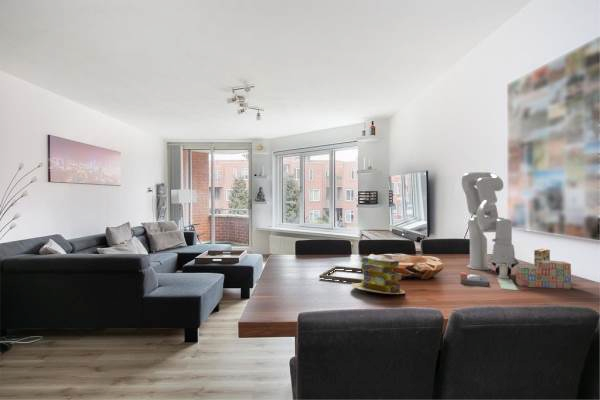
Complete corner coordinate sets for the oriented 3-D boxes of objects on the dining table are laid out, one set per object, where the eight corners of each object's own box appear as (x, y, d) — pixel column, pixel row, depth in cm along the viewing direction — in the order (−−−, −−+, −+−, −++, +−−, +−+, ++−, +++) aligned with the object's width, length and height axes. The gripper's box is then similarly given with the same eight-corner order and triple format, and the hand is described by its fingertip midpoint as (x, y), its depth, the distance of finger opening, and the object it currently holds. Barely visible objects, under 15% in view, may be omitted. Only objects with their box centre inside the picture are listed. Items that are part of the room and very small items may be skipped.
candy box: (542, 279, 175) (542, 251, 175) (533, 278, 179) (533, 249, 179) (550, 277, 180) (550, 249, 180) (541, 275, 184) (541, 248, 184)
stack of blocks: (521, 286, 163) (521, 261, 163) (515, 283, 169) (515, 259, 169) (571, 288, 158) (571, 263, 158) (563, 285, 164) (563, 260, 164)
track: (497, 279, 177) (497, 278, 177) (511, 280, 174) (511, 279, 174) (501, 289, 158) (501, 288, 158) (517, 290, 155) (517, 289, 155)
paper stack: (373, 282, 172) (373, 250, 172) (415, 293, 153) (415, 257, 153) (340, 291, 157) (339, 256, 157) (382, 304, 138) (382, 264, 138)
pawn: (497, 276, 183) (497, 260, 182) (507, 277, 180) (508, 260, 180) (498, 278, 178) (498, 261, 178) (509, 279, 176) (509, 262, 176)
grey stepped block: (460, 278, 179) (460, 268, 179) (486, 280, 174) (485, 270, 174) (460, 283, 168) (460, 272, 168) (487, 286, 163) (487, 275, 163)
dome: (466, 278, 175) (466, 273, 175) (480, 279, 173) (480, 274, 173) (466, 281, 170) (466, 276, 170) (480, 282, 167) (480, 277, 167)
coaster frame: (335, 270, 202) (335, 265, 202) (378, 274, 191) (378, 269, 191) (319, 279, 179) (319, 275, 179) (366, 285, 167) (366, 280, 167)
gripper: (486, 241, 179) (485, 275, 180) (523, 243, 172) (522, 278, 172) (485, 239, 186) (485, 272, 186) (520, 241, 179) (520, 275, 179)
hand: (503, 274), depth 179 cm, fingers closed on pawn, 4 cm apart
